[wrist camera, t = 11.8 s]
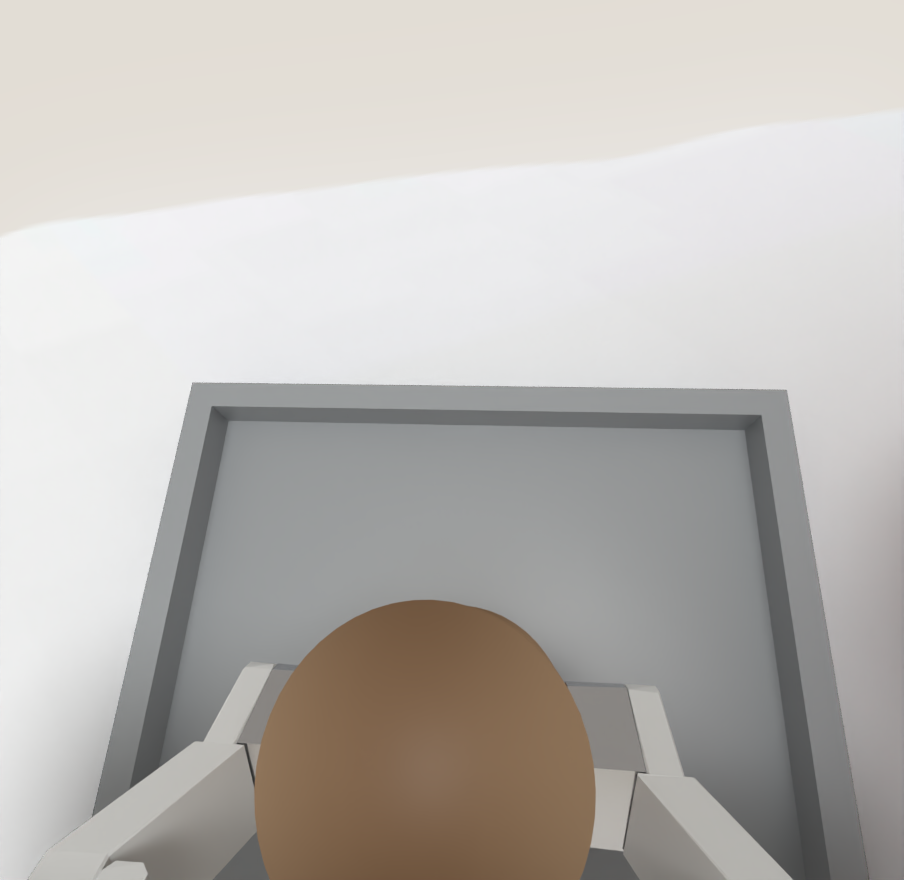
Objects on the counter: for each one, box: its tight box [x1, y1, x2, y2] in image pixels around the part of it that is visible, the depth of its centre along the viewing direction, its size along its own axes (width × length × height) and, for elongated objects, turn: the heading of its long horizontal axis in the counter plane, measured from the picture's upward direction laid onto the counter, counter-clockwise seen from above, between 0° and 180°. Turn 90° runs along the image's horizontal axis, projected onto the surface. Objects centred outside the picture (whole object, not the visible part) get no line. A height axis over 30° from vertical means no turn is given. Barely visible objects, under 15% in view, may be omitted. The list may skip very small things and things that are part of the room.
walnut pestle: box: [254, 600, 596, 880], centre depth 10 cm, size 5×5×8 cm
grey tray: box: [92, 383, 869, 880], centre depth 15 cm, size 18×18×2 cm
